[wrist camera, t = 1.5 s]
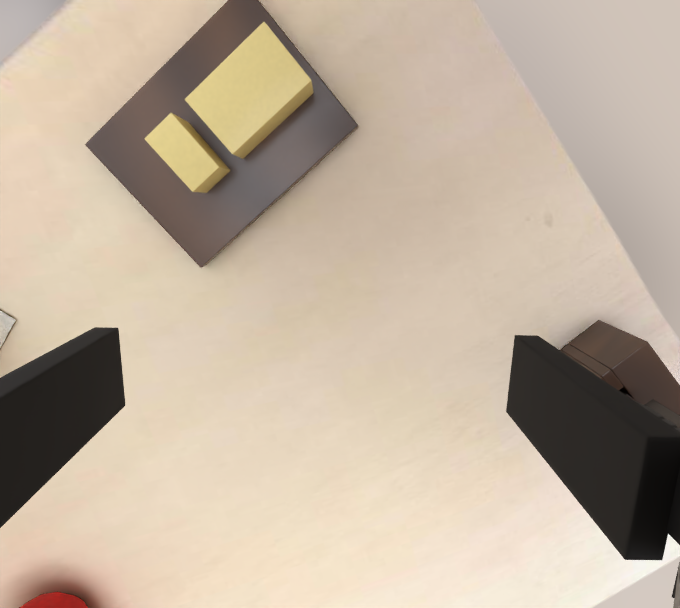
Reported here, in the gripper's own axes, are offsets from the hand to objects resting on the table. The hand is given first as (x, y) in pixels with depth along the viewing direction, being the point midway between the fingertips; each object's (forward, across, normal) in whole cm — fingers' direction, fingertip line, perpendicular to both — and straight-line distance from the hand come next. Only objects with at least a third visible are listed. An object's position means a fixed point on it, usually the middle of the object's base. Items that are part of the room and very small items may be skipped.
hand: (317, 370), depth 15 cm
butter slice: (+21, -10, +8) cm, 24 cm away
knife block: (+22, +22, -9) cm, 33 cm away
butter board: (+22, -8, +10) cm, 25 cm away
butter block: (+21, -5, +12) cm, 25 cm away
